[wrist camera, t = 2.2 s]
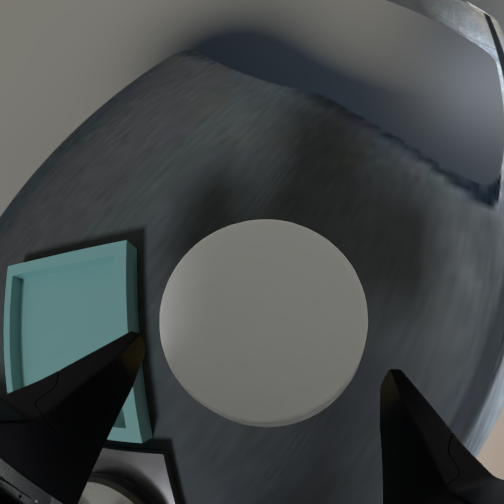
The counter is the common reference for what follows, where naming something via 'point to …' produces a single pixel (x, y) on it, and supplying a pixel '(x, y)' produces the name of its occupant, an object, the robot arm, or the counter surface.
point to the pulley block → (131, 478)
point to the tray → (74, 320)
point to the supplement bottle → (264, 322)
